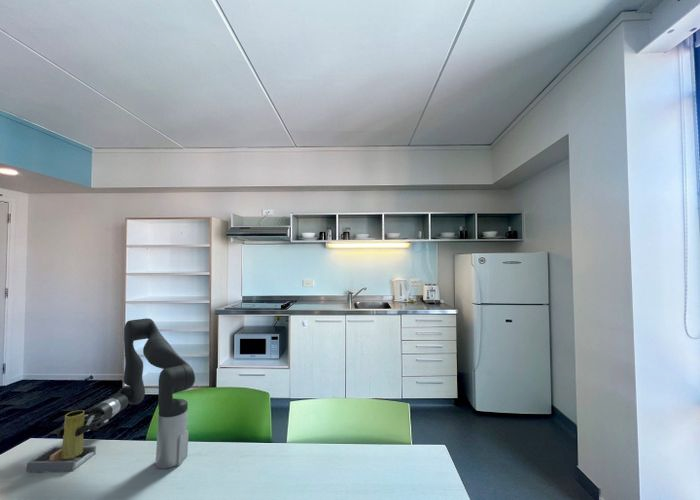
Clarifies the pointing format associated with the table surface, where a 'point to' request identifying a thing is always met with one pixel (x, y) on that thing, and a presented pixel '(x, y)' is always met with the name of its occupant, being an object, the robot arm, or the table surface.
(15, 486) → the table surface
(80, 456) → the grey tray
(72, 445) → the vase
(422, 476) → the table surface
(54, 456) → the pusher
